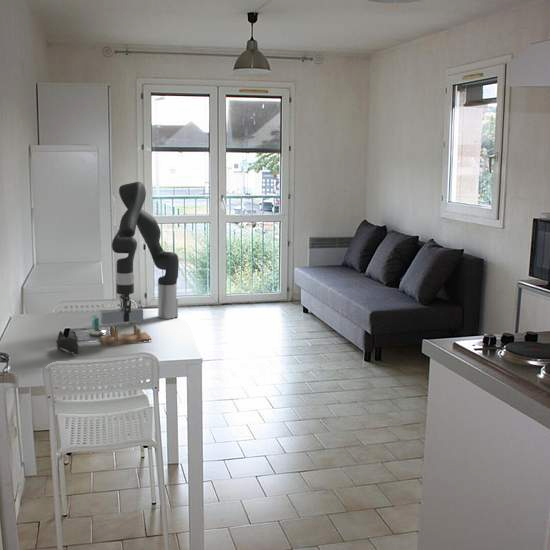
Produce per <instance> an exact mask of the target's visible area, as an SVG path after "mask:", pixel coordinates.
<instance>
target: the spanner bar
mask: <svg viewBox="0 0 550 550" xmlns="http://www.w3.org/2000/svg"><path fill="white" fill-rule="evenodd" d="M126 310H128V309H126ZM123 312H124V310H123V309H121V308H120V309H119V308H118V309H100V310H99V323H101V325H110V324H120V323H125V322H124V313H123ZM131 322H132V323H134V322H144V309H143V308H142V307H136V308H132V307H131V312H130V314H129V322H128V323H131Z"/></svg>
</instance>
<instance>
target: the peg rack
mask: <svg viewBox="0 0 550 550" xmlns="http://www.w3.org/2000/svg"><path fill="white" fill-rule="evenodd" d="M110 330H111V333H110V335H106V336H101V339H100V340H101V341H102V343H103V344H104V346H105V347H106V346H107V347H108V346H118V345H119V346H120V345H130V344H138V343H139V342H144V341H149V340H151V341H152V338H151V336H150V335H149V334H148V333H147V332H146V331H145V332H142V330H141V328H138V324H133V333H122V334H119V330H116V327H115V326H114V325H113V326H111V328H110ZM144 343H145V342H144ZM139 344H140V343H139Z"/></svg>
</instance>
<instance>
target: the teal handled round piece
mask: <svg viewBox="0 0 550 550" xmlns="http://www.w3.org/2000/svg"><path fill="white" fill-rule="evenodd" d="M91 324H92V325H91V328H89V329H90V330H89V334H90V335H94V336H100V335H105V334H107V331H108V329H107V328H106V327H100V317H98V315H97V314H92V315H91ZM105 328H106V329H105Z"/></svg>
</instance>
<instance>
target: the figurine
mask: <svg viewBox="0 0 550 550" xmlns="http://www.w3.org/2000/svg"><path fill="white" fill-rule="evenodd" d="M56 348H57V350H63V351H65V352H67V353H72V354H73V355H74V357H75V358H76V357H77V356H78V354H79V348H80V346H79V344H78V340H77V338H73V337H66V336H65V335H64V334H63V332H62V331H61V330H60V331H59V332H58V335H57V340H56Z"/></svg>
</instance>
